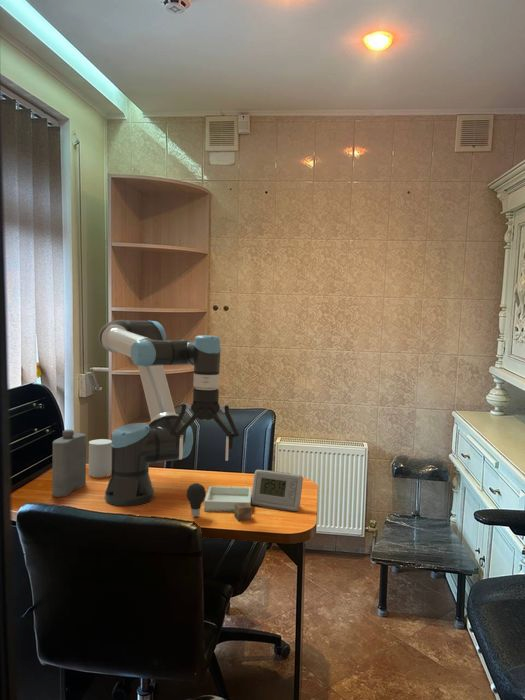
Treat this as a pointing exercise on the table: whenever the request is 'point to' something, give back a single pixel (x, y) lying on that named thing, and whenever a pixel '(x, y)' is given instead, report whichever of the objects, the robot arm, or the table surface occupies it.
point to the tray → (226, 498)
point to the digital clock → (277, 490)
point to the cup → (100, 457)
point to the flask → (68, 463)
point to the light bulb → (195, 497)
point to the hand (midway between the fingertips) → (203, 458)
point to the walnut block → (243, 512)
